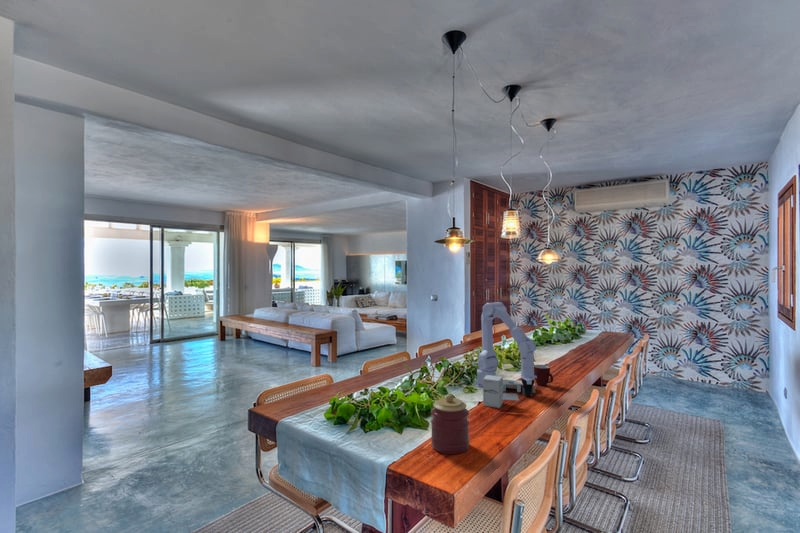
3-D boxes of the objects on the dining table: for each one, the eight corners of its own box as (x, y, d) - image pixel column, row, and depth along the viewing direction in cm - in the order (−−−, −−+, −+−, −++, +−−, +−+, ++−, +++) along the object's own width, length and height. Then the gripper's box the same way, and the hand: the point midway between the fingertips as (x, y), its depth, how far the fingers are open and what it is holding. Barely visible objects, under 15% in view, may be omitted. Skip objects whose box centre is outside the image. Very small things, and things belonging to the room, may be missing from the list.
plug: (523, 397, 182) (523, 389, 182) (521, 392, 190) (521, 385, 190) (532, 397, 181) (532, 390, 181) (530, 392, 189) (530, 385, 189)
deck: (500, 401, 177) (500, 399, 177) (500, 394, 187) (500, 392, 187) (519, 402, 175) (519, 400, 175) (517, 395, 185) (517, 393, 185)
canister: (424, 449, 130) (423, 396, 131) (442, 435, 141) (441, 386, 141) (459, 459, 123) (458, 403, 123) (475, 443, 134) (474, 392, 134)
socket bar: (503, 393, 189) (502, 383, 189) (502, 388, 195) (502, 379, 195) (535, 394, 185) (535, 384, 185) (533, 390, 192) (533, 380, 192)
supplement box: (482, 407, 169) (482, 378, 169) (487, 402, 176) (486, 374, 176) (499, 410, 166) (499, 380, 166) (503, 404, 172) (503, 376, 173)
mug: (557, 387, 197) (557, 367, 197) (549, 390, 192) (549, 370, 192) (539, 382, 205) (538, 363, 205) (530, 385, 200) (530, 366, 200)
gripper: (538, 370, 172) (538, 401, 172) (534, 363, 186) (535, 391, 186) (521, 369, 174) (522, 400, 174) (519, 362, 188) (519, 390, 188)
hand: (527, 395), depth 180 cm, fingers closed
